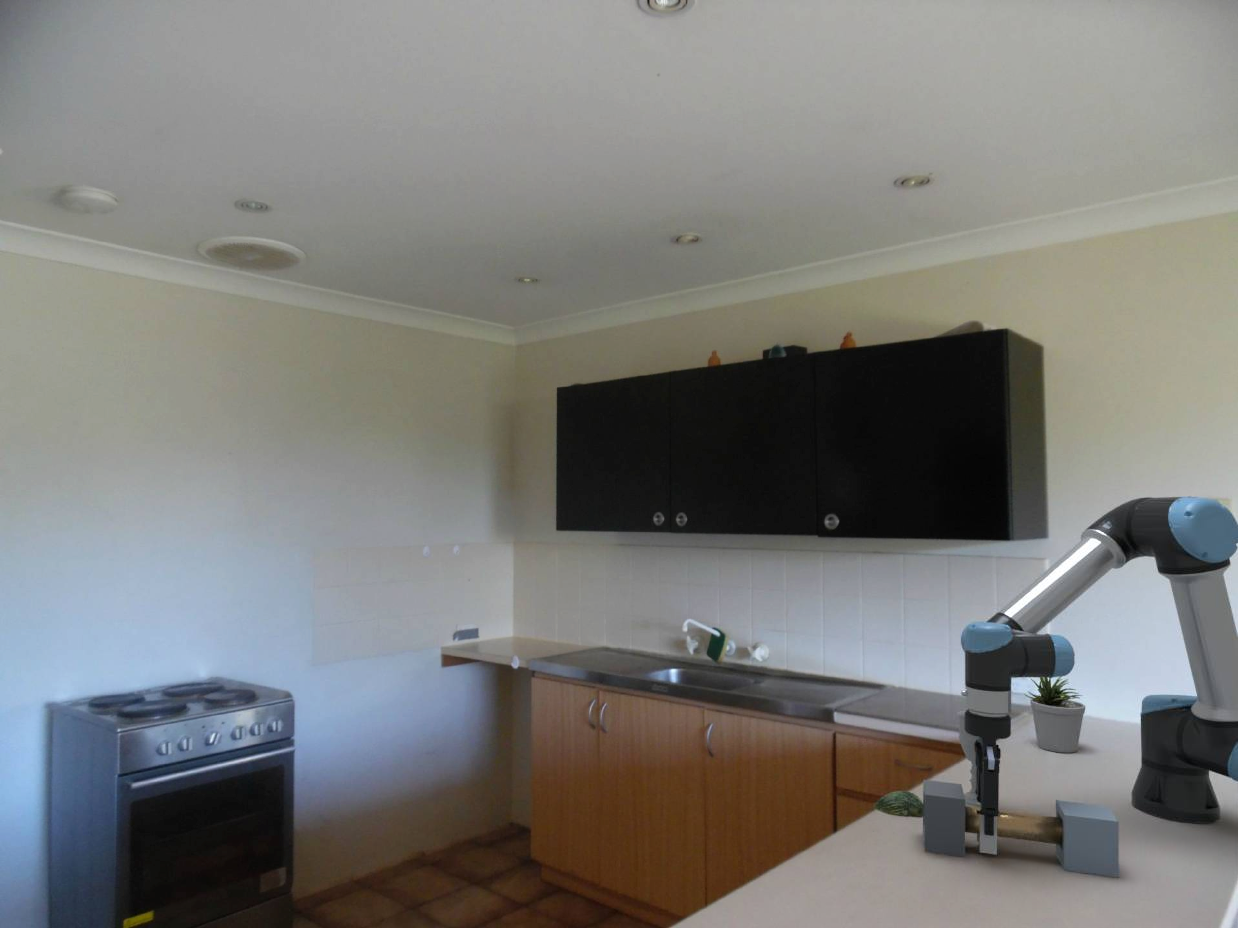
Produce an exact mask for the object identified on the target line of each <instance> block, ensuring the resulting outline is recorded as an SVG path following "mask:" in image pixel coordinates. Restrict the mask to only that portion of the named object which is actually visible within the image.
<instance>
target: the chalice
mask: <svg viewBox="0 0 1238 928" xmlns="http://www.w3.org/2000/svg"><path fill="white" fill-rule="evenodd" d="M965 712H966V710H962V711H961V710H960V711H957V712H956V714H957V715H956V716H957V718H958V722H959V723H958V728H959V730H958V739H959V742H960V746H961V749H962V750H963V752H964V755H965V758H966V759H967V760H968V761H970V762H971V769H970V770H969V772H970V774H971V778H970V779H969V780H968V781H969V782H970V784H971V788H970V790H969V791H967V792H965V793H964V796H965V806H971V807H977V803H980V802H977V799H976V797H977V795H976V793H975V790H976V763H975V754H976V753H975V750H974V742H975V741H976V739H979V736H973V735H970V734H968V733H967V732H966V731H965V729H964V722H965Z"/></svg>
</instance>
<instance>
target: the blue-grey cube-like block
mask: <svg viewBox="0 0 1238 928" xmlns="http://www.w3.org/2000/svg"><path fill="white" fill-rule="evenodd" d="M1055 817H1061V818H1062V820H1063V845H1057V844H1055V854H1056V856H1057V859H1058V860H1059V862H1060V864H1061V867H1062V869H1063V870H1064V871H1067V872H1069V871H1070V872H1075V873H1080V874H1081V873H1082V874H1087V875H1088V874H1090V875H1098V876H1103V877H1110V878H1118V879H1119V874H1120V871H1119V869H1120V868H1119V865H1120V864H1119V858H1120V857H1119V856H1120V855H1119V854H1120V852H1119V851H1120V849H1119V845H1120V843H1119V842H1120V839H1119V838H1120V836H1119V835H1120V834H1119V832H1120V829H1119V828H1120V827H1119V825H1120V821H1119V820H1118V819H1117V817H1116V816H1115V815H1114V813H1113V812H1112V810H1111V809H1110V808H1109V806H1108V805H1101V804H1094V803H1093V804H1092V803H1085V802H1083V803H1082V802H1075V801H1067V800H1061V799H1060V800H1059V799H1058V800H1057V799H1056V800H1055Z"/></svg>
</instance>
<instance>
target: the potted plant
mask: <svg viewBox="0 0 1238 928" xmlns="http://www.w3.org/2000/svg"><path fill="white" fill-rule="evenodd" d="M1062 677H1063V676H1061V677H1057V679H1056V681H1055V682H1054V683H1053V685H1052V678H1048V677H1039V679H1040V682H1039V684H1038V683H1037V682H1036V681H1035V680H1034V679H1032V677H1029V679H1030V680H1031V681H1032V682H1033V683H1034V684H1035V686H1036V687H1037V688H1038V689H1037V691H1038V693H1039V694H1037V695H1036V694H1034V693H1032V692H1031V691H1028V690H1027V693H1028V694H1029V695H1031V696H1029V695H1026V693H1024V695H1025V697H1028V698H1029V700H1030V708H1031V710H1032V715H1033V722H1034V728H1035V737H1036V743H1037V745H1038V746H1039V748H1041V749H1043V750H1045V751H1050V752H1054V753H1061V754H1062V753H1064V754H1070V753H1074V752H1077V750H1078V747H1079V741H1080V736H1081V731H1082V725H1083V719H1084V715H1085V711H1086V705H1085V704H1083V703H1081V702H1078V701H1075V699H1081V697H1082V695H1081V694H1080V693H1079V692H1078V693H1077V692H1075V691H1076V690H1077V689H1075V688H1070V687H1069V688H1064V689H1062V688H1063V686H1065V685H1067V684H1068V681H1069V678H1066V679H1064V680H1063V678H1062ZM1060 681H1061V682H1060ZM1069 690H1070V691H1069ZM1071 690H1073V691H1071ZM1069 694H1072V695H1069ZM1079 694H1080V695H1079ZM1032 696H1033V697H1032ZM1073 699H1074V700H1073Z"/></svg>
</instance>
